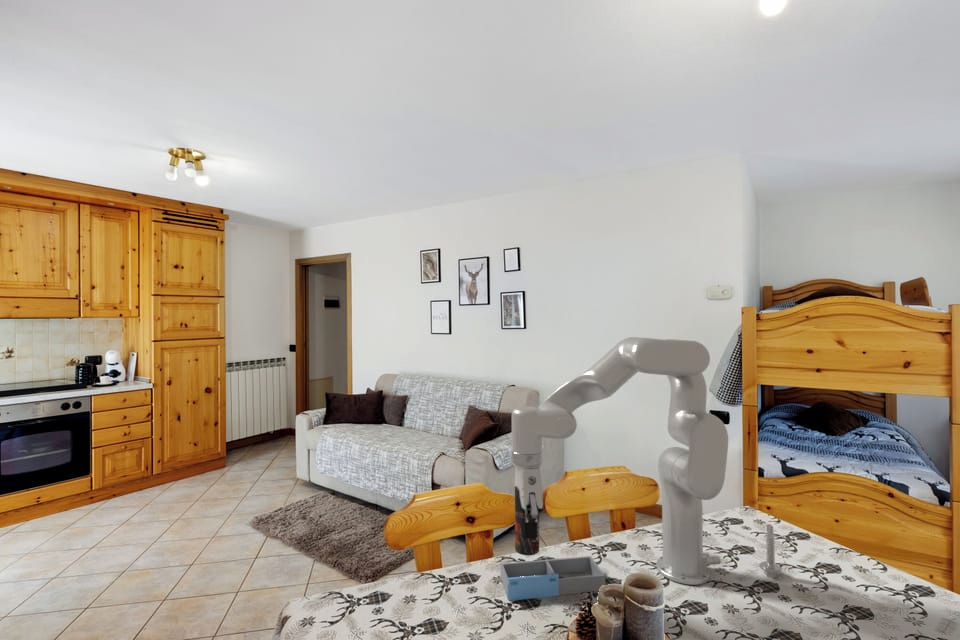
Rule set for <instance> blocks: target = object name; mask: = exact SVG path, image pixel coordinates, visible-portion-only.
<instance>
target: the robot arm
mask: <svg viewBox="0 0 960 640" xmlns="http://www.w3.org/2000/svg"><path fill="white" fill-rule="evenodd" d="M710 362H711V356H710V352H709V350H708V349H707V347H706V346H705V345H704V344H702V343H701V342H699V341H696V340H688V339H687V340H686V339H684V340H683V339H674V338H673V339H671V338H670V339H669V338H668V339H666V338H665V339H661V338H649V337H638V336H637V337H636V336H631V337H627V338H624V339H621V340H620V341H619V342H618V343H617V344H616V345H614V346H613V347H612V348H611V349H610V350H609V351H607V352H606V353H605V354H604V355H603V356H602V357H600V359H599V360H597V361H596V362H595V363H594V364H593V365H592V366H591V367H590V368H587V370H586V371H584V372H583V373H581V374H579V375H577V376H576V377H574V378H573V379H571V380H568V381H567V382H566V383H564V384H562V385H561V386H559V387H558V388H557V389H556V390H554V392H553V393H551V394H550V395H549V396H548V397H547V398H546V399H544V400H543V401H542V402H541V403H540V405H538V407H535V406H527V405H526V406H525V405H523V406H518V407H515V408H513V409H512V411H511V465H512V466H513V467H514V487H515V486H516V487H517V489H518V490H519V495H520V503H521V507H522V508H523V509H524V513H525V521H524V538H525V539H529V538H537V515H538V512H537V507H538V508H539V510H542V509H543V507H544V505H543V502H544V501H543V500H544V499H543V484H542V483H543V482H542V473H541V467H542V466H543V438H544V439H553V440H565V439H569V438H570V437H571V436H573V435H574V433H576V430H577V420H576V417H575V416H574V414H573V412H575V411H576V410H577V409H578V408H580V407H581V406H582V407H583V406H585V405H586V404H589V403H592V402H596V401H601V400H604V399H608V398H609V397H611V396H613V395H614V394H616V392H618V390H619V389H621V388H622V387H623V386H624V385H625V384H626V383H627V382H629V380H631V378H633V377H634V376H635V375H636V374H637V373H643V374H649V375H661V376H666V377H667V379H668V381H669V385H670V386H669V387H670V399H669V409H668V418H667V431H668V434H669V436H670V437H671V438H672V439H673V440H675V441H676V442H678V443H680V444H682V445H684V446H686V447H688V449H686V448H684V447H680V446H671V447H668V448H666V449H665V450H663V451H662V452H661V454H660V456H659V459H658V462H657V463H658V464H657V470H658V476H659V482H660V488H661V490H660V491H661V510H662V511H661V516H662V517H661V524H662V528H661V529H662V530H661V531H662V537H661V538H662V556H660V557H658V558H657V560H656V563H655V565H656V569H657V571H658V573H660V575H662V576H663V577H665V578H667V579H668V580H671V581H673V582H676V583H678V584H684V585H692V586H694V585H695V586H699V585H703V584H705V583H707V582H708V581H709V580H710V577H711V572H710V569H709V568H708V567H710V566H711V565H712V566H713V565H714V566H715V565H721V563H722V561H721V558H720V556H719V555H711V556H710V554H709V552H703V550H704V548H703V547H704V544H703V543H704V536H703V535H704V534H703V502H702V501H710V500H713V499H715V498H716V497H717V496H718V495H719V494H720V493H721V491H722V489H723V487H724V483H725V478H726V470H727V461H728V450H729V433H728V429H727V427H726V425H725V424H724V422H723V420H721V419H720V418H719V417H718V416H717V415H715V414H712V413H709V412H707V396H708V395H707V393H708V391H707V389H708V388H707V383H706V380H705V376H704V375H703V372H705V371H706V370H707V368H708V367H709V365H710ZM536 503H537V504H536ZM526 505H530V508H527V506H526ZM536 505H537V506H536ZM528 511H531V512H530V513H529V515H528Z"/></svg>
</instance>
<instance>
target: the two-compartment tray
mask: <svg viewBox="0 0 960 640" xmlns="http://www.w3.org/2000/svg"><path fill="white" fill-rule="evenodd" d="M499 567H500V580H501V583H502V586H503V588H504V593H505V595H506V598H507V600H508V602H509V601H517V600H531V599H540V598H541V599H542V598H549V597H550V598H551V597H552V596H553V597H559V595H568V594H569V595H570V594H577V593H578V594H579V593H588V592H598V589H599V588H600V587H601V586H602V585H605V586H606V575H605V573H604V572H603V570H602V569H601V568H600V566H599V565H598V563H596V560H594V558H593V557H592V556H590V555H589V556H588V555H587V556H575V557H562V558H555V559H554V558H553V559H552V558H551V559H540V560H531V561H530V560H527V561H515V562H503V563H500V566H499ZM580 572H581V573H582V572H590V574H591V575H582V576H570V577H559V574H560V573H561V574H569V573H570V574H571V573H572V574H573V573H580ZM534 575H535V576H534ZM520 576H521V577H520ZM522 576H524V577H522Z"/></svg>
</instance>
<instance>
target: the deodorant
mask: <svg viewBox="0 0 960 640" xmlns="http://www.w3.org/2000/svg"><path fill="white" fill-rule="evenodd" d="M536 504H537V503H536ZM526 506H527V508H530V505H526ZM536 506H537V505H536ZM530 512H531V511H528V515H529V513H530ZM537 512H538V515H537V538H529V539H525V538H524V521H525V513H524V509H523V508H522V507H521V503H520V495H519V490H518V489H517V487H516V486H515V485H514V550H515V552H516V553H517V554H519V555H522V556H534V555H537V554H538V553H539V552H540V509H539V508H538V507H537Z"/></svg>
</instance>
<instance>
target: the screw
mask: <svg viewBox="0 0 960 640" xmlns="http://www.w3.org/2000/svg"><path fill="white" fill-rule="evenodd" d="M765 533H766V535H765V541H766V542H765V543H766V547H765V548H766V549H765V550H766V551H765V554H766V556H765V557H766V559H765V560H766V561H762V562H760V563H759V565H758V566H759V568H760V569H761V570H763V572H764V573H763V574H764V575H765V576H766V577H767V578H771V579H776V578H778V574H781V573H782V572H783V568H782V567H781V566H780V565H778V563H777V564H776V561H775V560H776V559H775V558H776V557H775V556H776V553H775V551H776V550H775V548H776V547H775V543H776V542H775V540H776V538H775V535H774V526H773V525H772V524H771V523H769V524H766V532H765Z"/></svg>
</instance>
